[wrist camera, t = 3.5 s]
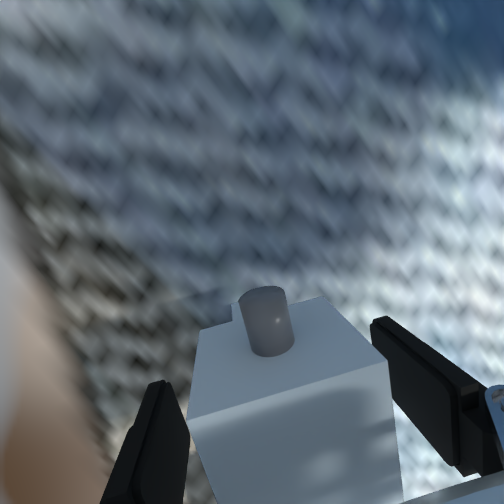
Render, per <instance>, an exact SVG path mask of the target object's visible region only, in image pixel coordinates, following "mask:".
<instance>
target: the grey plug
mask: <svg viewBox="0 0 504 504" xmlns="http://www.w3.org/2000/svg"><path fill="white" fill-rule="evenodd" d="M231 310H232V320H233V321H231V322H228V323H224V324H220V325H217V326H213V327H210V328H206V329H202V330H200V332H199V339H198V345H197V352H196V358H195V365H194V371H193V378H192V384H191V391H190V398H189V404H188V411H187V417H186V422H187V425H188V428H189V430H190V433H191V436H192V438H193V441H194V443H195V446H196V449H197V451H198V454H199V457H200V459H201V462H202V464H203V467H204V470H205V472H206V475H207V478H208V480H209V483H210V485H211V488H212V491H213V493H214V496H215V499H216V501H217V504H399V503H402V502H404V496H403V488H402V479H401V471H400V462H399V454H398V445H397V437H396V428H395V420H394V411H393V403H392V394H391V386H390V377H389V369H388V360H387V359H386V358H385V357H384V356H383V355H382V354H381V353H380V352H379V351H378V350H377V349H376V348H375V347H374V346H373V345H372V344H371V343H370V342H369V341H368V340H367V339H366V338H365V337H364V336H363V335H362V334H361V333H360V332H359V331H358V330H357V329H356V328H355V327H354V326H353V325H352V324H351V323H350V322H349V321H348V320H347V319H346V318H344V317H343V316H342V315H341V314H340V313H339V312H338V311H337V310H336V309H335V308H334V307H333V306H332V305H331V304H330V303H329V302H328V301H327V300H326V299H325V298H324V297H323V296H321V297H317V298H314V299H310V300H307V301H303V302H299V303H296V304H292V305H289V306H288V305H287V302H286V297H285V293H284V290H283V289H282V288H280V287H277V286H264V287H259V288H255V289H253V290H250V291H248V292H246V293H245V294H243V295H242V296H241V297H240V299H239V301H238V302H237V303H233V304H231Z"/></svg>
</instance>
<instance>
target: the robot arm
mask: <svg viewBox="0 0 504 504" xmlns="http://www.w3.org/2000/svg"><path fill="white" fill-rule="evenodd" d="M370 333H371V340H372V345H373V346H374V347H375V348H376V349H377V350H378V351H379V352H380V353H381V354H382V355H383V356H384V357H385V358H386V359H387V360H388V369H389V377H390V386H391V394H392V399H393V400H394V401H395V402H396V403H397V405H398V406H399V407H400V408H401V409H402V411H403V412H404V413H405V414H406V415H407V417H408V418H409V419H410V420H411V421H412V423H413V424H414V425H415V426H416V427H417V429H418V430H419V431H420V432H421V433H422V434H423V436H424V437H425V438H426V439H427V440H428V442H429V443H430V444H431V445H432V446H433V448H434V449H435V450H436V451H437V452H438V454H439V455H440V456H441V457H442V458H443V460H444V461H445V462H446V463H447V464H448V465H449V466H455V467H456V469H457V470H458V471H459V472H460V473H461V474H462V476H463V477H466V476H469V475H472V474H475V473H479V474H480V476H481V477H480V478H477V479H474V480H470V481H467V482H464V483H461V484H457V485H454V486H451V487H448V488H445V489H442V490H439V491H436V492H433V493H430V494H427V495H424V496H421V497H418V498H415V499H412V500H409V501H406V502H402V503H399V504H504V385H495V386H491V387H489V388H486V387H485V386H484V385H482V384H481V383H480V382H478V381H477V380H475V379H474V378H473V377H471V376H470V375H469V374H467V373H466V372H464V371H463V370H462V369H460V368H459V367H458V366H456V365H455V364H454V363H452V362H451V361H449V360H448V359H447V358H445V357H444V356H443V355H441V354H440V353H438V352H437V351H436V350H434V349H433V348H432V347H430V346H429V345H427V344H426V343H424V342H423V341H421V340H420V339H419V338H417V337H416V336H414V335H413V334H412V333H410V332H409V331H408V330H406V329H405V328H404V327H402V326H401V325H399V324H398V323H397V322H395V321H394V320H393V319H391V318H390V317H388V316H383V317H380V318H376V319H373V321H372V324H370ZM189 448H190V433H189V430H188V427H187V425H186V422H185V420H184V417H183V414H182V412H181V409H180V406H179V404H178V401H177V399H176V396H175V393H174V391H173V388H172V386H171V383H170V382H167V383H166V381H165V380H160V381H157V382H154V383H150V384H149V385H148V387H147V390H146V393H145V395H144V398H143V401H142V403H141V406H140V409H139V411H138V414H137V416H136V419H135V422H134V424H133V426H132V427H130V428H129V430H128V432H127V435H126V437H125V440H124V442H123V445H122V447H121V450H120V452H119V455H118V458H117V460H116V463H115V465H114V468H113V470H112V473H111V475H110V478H109V481H108V483H107V486H106V488H105V491H104V493H103V496H102V498H101V501H100V504H183V497H184V489H185V480H186V472H187V464H188V456H189Z"/></svg>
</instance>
